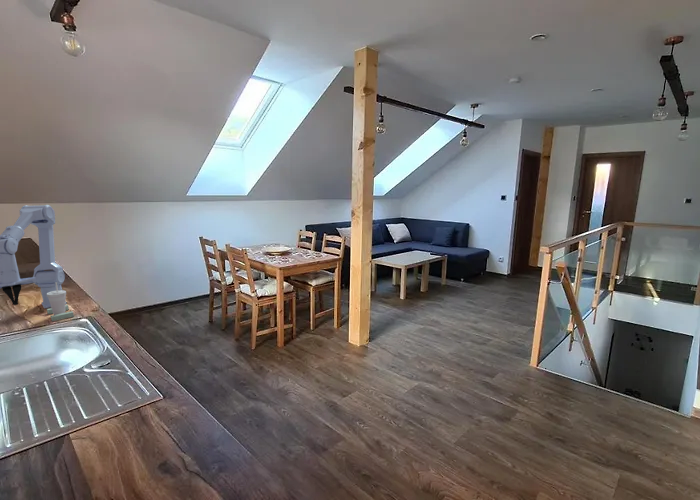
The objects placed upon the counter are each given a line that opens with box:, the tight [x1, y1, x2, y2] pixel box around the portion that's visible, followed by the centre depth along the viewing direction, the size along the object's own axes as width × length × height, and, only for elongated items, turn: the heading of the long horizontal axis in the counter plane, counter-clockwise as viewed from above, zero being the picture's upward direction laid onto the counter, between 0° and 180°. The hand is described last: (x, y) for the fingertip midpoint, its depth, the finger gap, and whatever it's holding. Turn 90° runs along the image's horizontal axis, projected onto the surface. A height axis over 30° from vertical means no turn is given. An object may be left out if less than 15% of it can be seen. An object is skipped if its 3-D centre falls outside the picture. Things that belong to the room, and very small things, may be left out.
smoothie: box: [47, 282, 67, 315], centre depth 152 cm, size 6×6×14 cm
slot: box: [46, 304, 75, 322], centre depth 153 cm, size 13×7×2 cm, turn 45°
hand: (15, 304), depth 143 cm, fingers closed
